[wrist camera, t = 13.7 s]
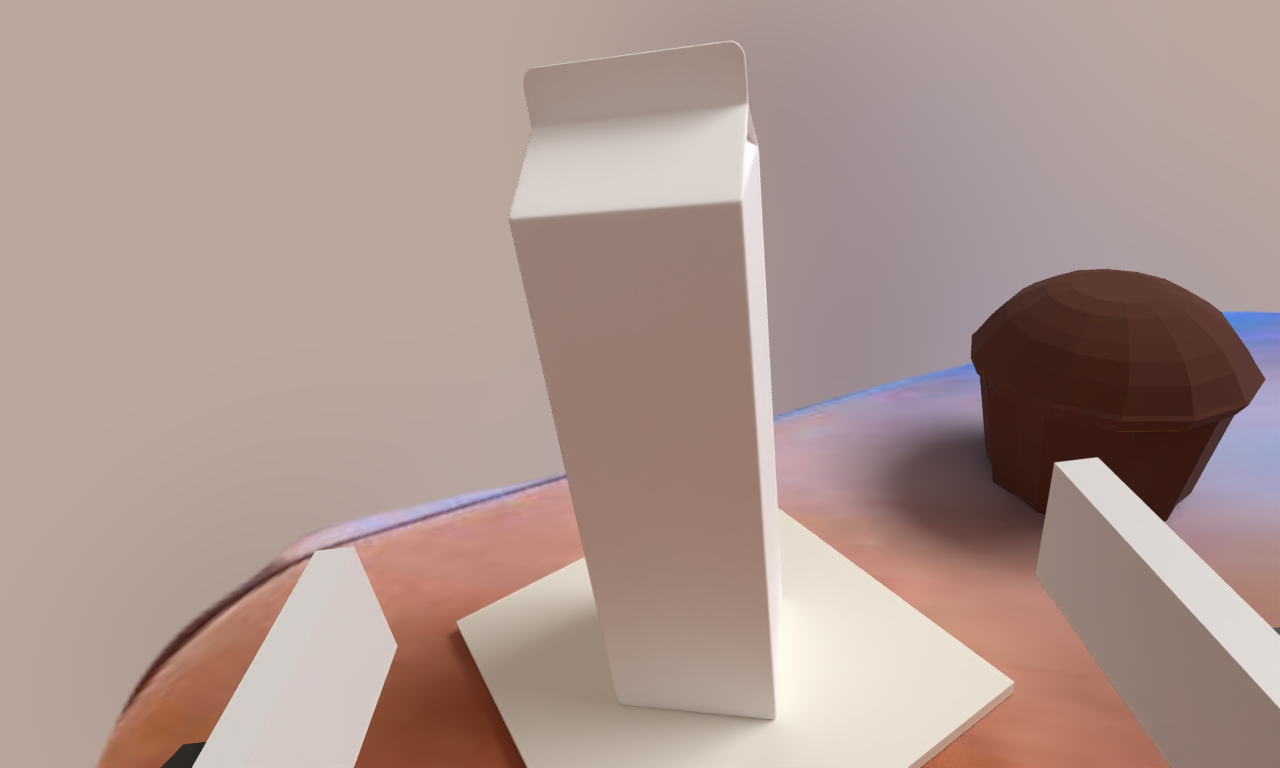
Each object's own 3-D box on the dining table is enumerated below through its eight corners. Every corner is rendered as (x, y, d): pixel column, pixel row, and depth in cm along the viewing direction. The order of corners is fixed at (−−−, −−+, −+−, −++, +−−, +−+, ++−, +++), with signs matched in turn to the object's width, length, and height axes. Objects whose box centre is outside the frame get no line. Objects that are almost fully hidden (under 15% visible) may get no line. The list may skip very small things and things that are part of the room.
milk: (777, 723, 25) (737, 51, 15) (615, 706, 27) (472, 84, 16) (783, 595, 30) (756, 29, 20) (646, 587, 32) (553, 56, 21)
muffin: (1289, 532, 31) (1372, 321, 26) (1031, 564, 31) (1066, 362, 26) (1117, 398, 41) (1153, 230, 36) (926, 423, 41) (937, 260, 37)
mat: (1012, 693, 26) (1014, 682, 25) (637, 995, 19) (634, 985, 19) (740, 488, 38) (739, 479, 38) (459, 630, 32) (455, 621, 32)
